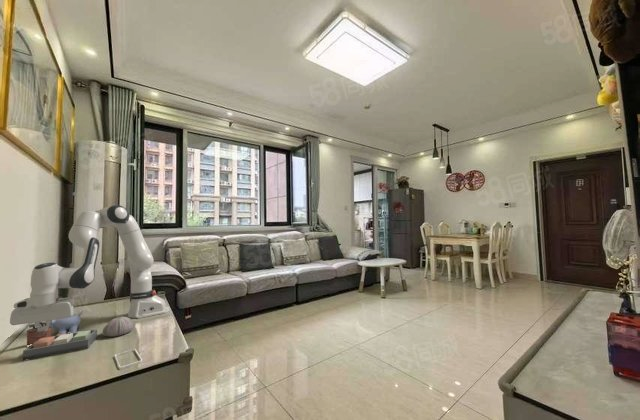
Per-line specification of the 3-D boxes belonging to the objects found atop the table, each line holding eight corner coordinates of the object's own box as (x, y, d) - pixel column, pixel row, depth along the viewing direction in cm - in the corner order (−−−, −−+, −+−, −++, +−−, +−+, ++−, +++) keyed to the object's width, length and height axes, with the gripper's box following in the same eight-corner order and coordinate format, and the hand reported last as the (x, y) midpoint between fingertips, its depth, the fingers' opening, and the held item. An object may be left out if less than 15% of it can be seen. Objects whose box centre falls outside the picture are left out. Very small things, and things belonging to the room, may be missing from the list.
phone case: (142, 363, 105) (135, 351, 116) (142, 360, 105) (135, 348, 116) (119, 371, 100) (114, 357, 111) (119, 367, 100) (114, 354, 111)
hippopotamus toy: (46, 332, 140) (46, 314, 141) (84, 325, 149) (84, 308, 150) (41, 339, 132) (41, 320, 132) (81, 331, 141) (82, 313, 141)
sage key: (90, 334, 128) (90, 330, 128) (85, 339, 122) (85, 335, 122) (78, 336, 126) (78, 332, 126) (72, 342, 120) (72, 337, 120)
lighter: (50, 339, 131) (50, 319, 131) (51, 341, 129) (51, 320, 129) (26, 345, 125) (26, 324, 125) (26, 347, 122) (27, 325, 123)
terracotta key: (54, 340, 122) (54, 336, 122) (47, 346, 116) (47, 341, 116) (41, 342, 120) (41, 338, 120) (33, 349, 114) (33, 344, 114)
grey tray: (97, 337, 132) (97, 328, 132) (87, 348, 119) (88, 338, 120) (39, 347, 122) (39, 337, 123) (23, 360, 110) (23, 350, 110)
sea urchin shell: (117, 339, 129) (117, 322, 129) (94, 338, 131) (95, 321, 132) (140, 328, 142) (140, 313, 142) (120, 327, 144) (120, 312, 145)
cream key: (73, 337, 125) (73, 333, 125) (67, 343, 119) (67, 338, 119) (60, 339, 123) (60, 335, 123) (53, 345, 117) (53, 340, 117)
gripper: (76, 295, 127) (75, 324, 126) (17, 301, 118) (15, 333, 117) (71, 298, 121) (70, 329, 120) (8, 304, 112) (6, 338, 111)
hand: (42, 331), depth 118 cm, fingers closed
